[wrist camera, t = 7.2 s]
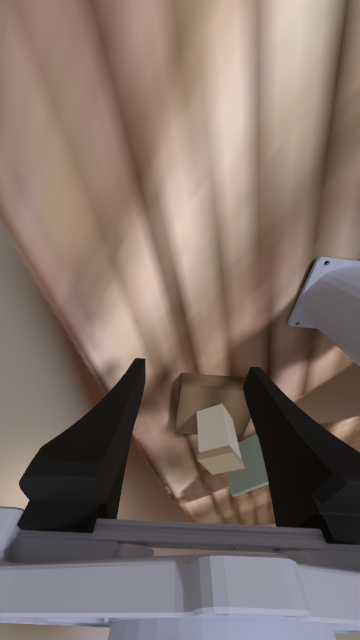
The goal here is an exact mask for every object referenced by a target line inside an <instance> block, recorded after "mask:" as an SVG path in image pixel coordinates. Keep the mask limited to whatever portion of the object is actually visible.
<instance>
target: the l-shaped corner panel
mask: <svg viewBox="0 0 360 640" xmlns="http://www.w3.org/2000/svg"><path fill="white" fill-rule="evenodd" d="M238 446H239V450H240V455H241V459H242V461H243V462H244V466H245V468H244V469H239V470H234V471H229V472H228V478H229V484H230V490H231V495H232V496H234V497H235V496H238V495H241V494H243V493H246V492H249V491H251V490H254V489H257V488H259V487H262V486H265V485H268V484H269V483H268V477H267V473H266V468H265V464H264V459H263V455H262V451H261V447H260V443H259V439H258V436H257V434H255V435H253V436H251V437H249V438H247V439H245V440H243V441H241V442H239V443H238Z"/></svg>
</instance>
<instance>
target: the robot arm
mask: <svg viewBox="0 0 360 640" xmlns="http://www.w3.org/2000/svg"><path fill="white" fill-rule="evenodd" d="M325 261H327V263H326V264H325V265H324V263H325ZM296 322H298V323H296ZM288 324H289V325H290V326H293V327H304V328H315V329H318V330H319V331H321V332H322V333H323V334H324V335H325V336H326V337H327V338H328V339H329V340H331V341H332V342H333V343H334V344H335V345H336V346H337V347H338V348H340V349H341V350H342V351H343V352H344V353H345V354H346V355H347V356H349V357H350V358H351V359H352V360H353V361H354V362H355V363H356V364H358V365H359V366H360V261H357V260H348V259H339V258H330V257H319V258H317V259H316V261H315V263H314V265H313V267H312V269H311V271H310V274H309V276H308V278H307V280H306V283H305V285H304V287H303V289H302V291H301V294H300V296H299V298H298V300H297V303H296V305H295V307H294V309H293V312H292V314H291V316H290V318H289V320H288ZM144 385H145V359H141V358H136V359H135V360H134V361H133V363H132V364H131V366H130V367H129V369H128V370H127V371H126V373H125V374H124V375H123V377H122V378H121V379H120V380H119V382H118V383H117V384H116V385H115V386H114V387H113V389H112V390H111V391H110V392H109V393H108V394H107V395H106V396H105V397H104V398H103V399H102V400H101V401H100V402H99V403H98V404H97V405H96V406H95V407H94V408H93V409H91V410H90V411H89V412H88V413H87V414H86V415H85V416H83V417H82V418H81V419H80V420H78V421H77V422H76V423H75V424H73V425H72V426H71V427H69V428H68V429H67V430H65V431H64V432H63V433H61V434H60V435H58V436H57V437H55V438H54V439H53V440H51V441H49V442H48V443H47V444H45V445H44V446H42V447H41V448H40V450H39V451H38V453H37V454H36V455H35V457H34V458H33V460H32V461H31V463H30V464H29V466H28V468H27V469H26V471H25V473H24V474H23V476H22V478H21V479H20V481H19V486H20V488H21V490H22V491H23V493H24V494H25V495H26V496H27V498H28V499H29V500H30V501H29V502H28V505H27V506H26V508H25V510H24V509H21V508H16V507H0V623H22V624H44V625H47V624H48V625H68V626H90V627H110V631H109V637H108V640H336V638H335V635H334V633H360V452H358V451H356V450H355V449H353V448H352V447H350V446H349V445H347V444H346V443H344V442H343V441H341V440H340V439H338V438H337V437H336V436H334V435H333V434H331V433H330V432H329V431H327V430H326V429H325V428H323V427H322V426H321V425H319V424H318V423H317V422H315V421H314V420H313V419H312V418H311V417H309V416H308V415H307V414H306V413H305V412H303V411H302V410H301V409H300V408H299V407H298V406H297V405H296V404H295V403H294V402H292V401H291V400H290V399H289V398H288V397H287V396H286V395H285V394H284V393H283V392H282V391H281V390H280V389H279V388H278V387H277V386H276V385H275V384H274V382H273V381H272V380H271V379H270V378H269V377H268V376H267V375H266V374H265V373H264V372H263V371H262V370H261V369H260V368H259V367H250V370H249V372H248V375H247V378H246V380H245V383H244V386H243V390H244V396H245V400H246V404H247V407H248V410H249V413H250V416H251V419H252V421H253V424H254V427H255V430H256V433H257V436H258V439H259V443H260V447H261V451H262V455H263V459H264V464H265V468H266V473H267V477H268V483H269V488H270V493H271V498H272V504H273V510H274V516H275V523H276V527H269V526H248V525H227V524H205V523H183V522H162V521H141V520H139V521H138V520H119V519H117V513H118V507H119V501H120V495H121V489H122V484H123V478H124V473H125V467H126V462H127V456H128V451H129V446H130V441H131V436H132V432H133V427H134V424H135V421H136V417H137V414H138V410H139V407H140V403H141V400H142V396H143V391H144ZM146 547H153V548H176V549H200V550H222V551H223V550H224V551H246V552H270V553H277V554H254V553H229V552H210V553H205V554H191V555H170V556H153V554H154V551H153V550H152V549H151V548H146Z"/></svg>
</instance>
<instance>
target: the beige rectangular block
mask: <svg viewBox="0 0 360 640" xmlns="http://www.w3.org/2000/svg"><path fill="white" fill-rule="evenodd" d="M197 427H198V445H199V454H198V455H197V458H198V461H199V462H200V463H201V464H202V465H203V466H204V467H205V468H206V469H207V470H208V471H209V472H210V473H211V474H212V475H214V474H219V473H224V472H229V471H234V470H239V469H244V468H245V466H244V462H243V461H242V459H241V455H240V450H239V446H238V441H237V437H236V432H235V427H234V423H233V418H232V417H231V416H230V414H229V413H228V411H227V410H226V408H225V407H224V406H223V404H219V405H216V406H213V407H209V408H206V409H203V410H200V411H197Z"/></svg>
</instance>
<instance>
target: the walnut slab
mask: <svg viewBox="0 0 360 640" xmlns="http://www.w3.org/2000/svg"><path fill="white" fill-rule="evenodd" d="M245 380H246V378H242V377H229V376H216V375H203V374H189V373H181V381H180V388H179V396H178V404H177V411H176V420H175V433H183V434H198V427H197V411H200V410H203V409H206V408H209V407H213V406H216V405H219V404H223V406H224V407H225V408H226V410H227V411H228V413H229V414H230V416H231V417H232V418H233V423H234V427H235V432H236V437H242V436H243V434H244V432H245V429H246V427H247V425H248V423H249V421H250V418H251V416H250V413H249V410H248V407H247V404H246V400H245V396H244V390H243V386H244V383H245Z"/></svg>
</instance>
